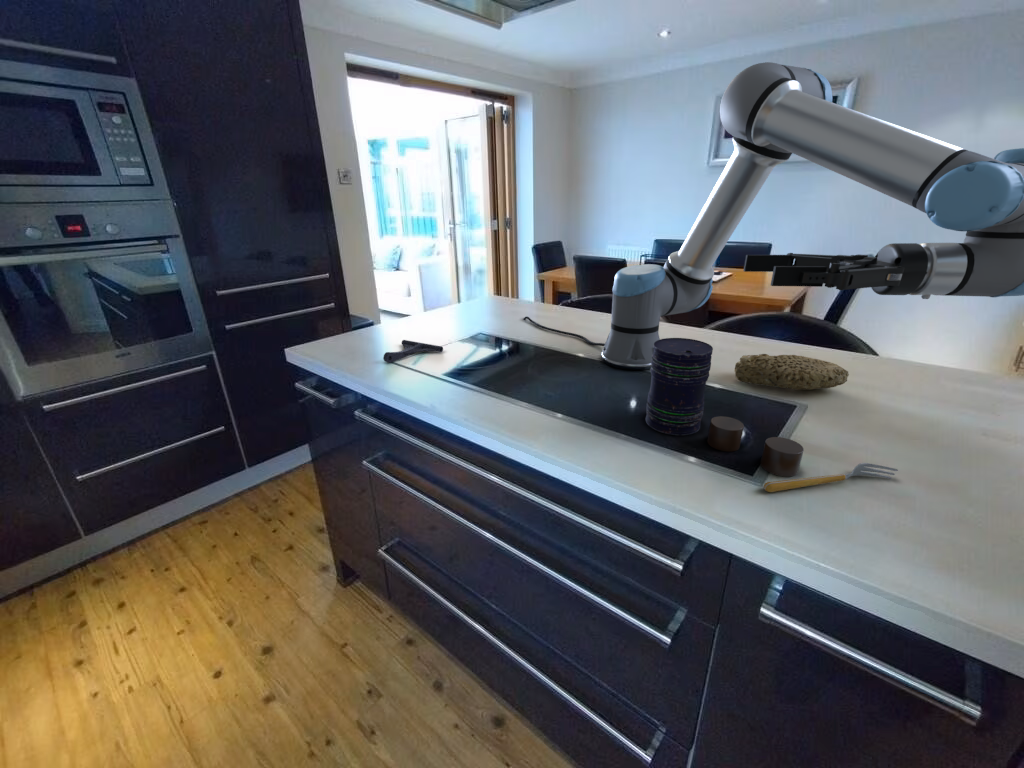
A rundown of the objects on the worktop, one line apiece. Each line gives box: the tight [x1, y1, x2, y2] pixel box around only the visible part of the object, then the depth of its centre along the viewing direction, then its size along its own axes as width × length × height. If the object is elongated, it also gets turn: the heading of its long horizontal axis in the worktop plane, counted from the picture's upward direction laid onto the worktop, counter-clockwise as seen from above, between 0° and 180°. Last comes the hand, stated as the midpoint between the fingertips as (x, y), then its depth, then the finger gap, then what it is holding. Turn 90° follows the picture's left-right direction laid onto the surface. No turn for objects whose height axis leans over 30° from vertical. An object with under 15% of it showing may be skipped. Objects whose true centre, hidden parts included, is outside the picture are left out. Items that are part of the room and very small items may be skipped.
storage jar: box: [645, 337, 714, 436], centre depth 79 cm, size 10×10×15 cm
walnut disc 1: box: [706, 415, 745, 453], centre depth 74 cm, size 5×5×4 cm
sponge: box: [733, 353, 850, 391], centre depth 95 cm, size 13×8×20 cm
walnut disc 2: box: [760, 436, 805, 478], centre depth 67 cm, size 5×5×4 cm
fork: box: [763, 462, 899, 493], centre depth 63 cm, size 2×2×20 cm
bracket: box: [383, 339, 444, 364], centre depth 121 cm, size 14×15×3 cm
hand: (757, 269), depth 69 cm, fingers open, 13 cm apart
